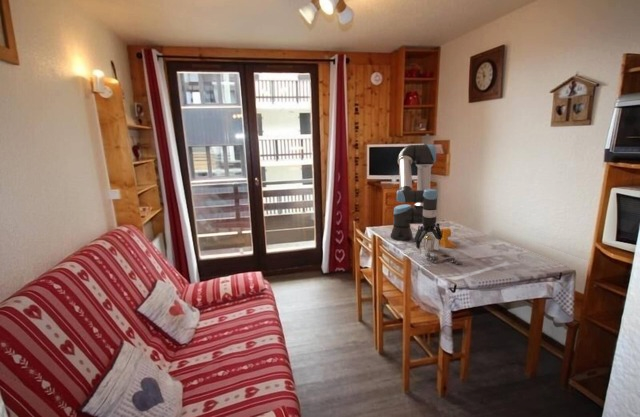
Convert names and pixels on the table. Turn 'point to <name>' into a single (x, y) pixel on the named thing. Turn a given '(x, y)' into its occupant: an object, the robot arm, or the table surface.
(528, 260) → the table surface
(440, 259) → the chain end
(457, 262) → the grey latch plate
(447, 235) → the bracket
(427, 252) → the pin
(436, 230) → the robot arm
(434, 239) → the mug
